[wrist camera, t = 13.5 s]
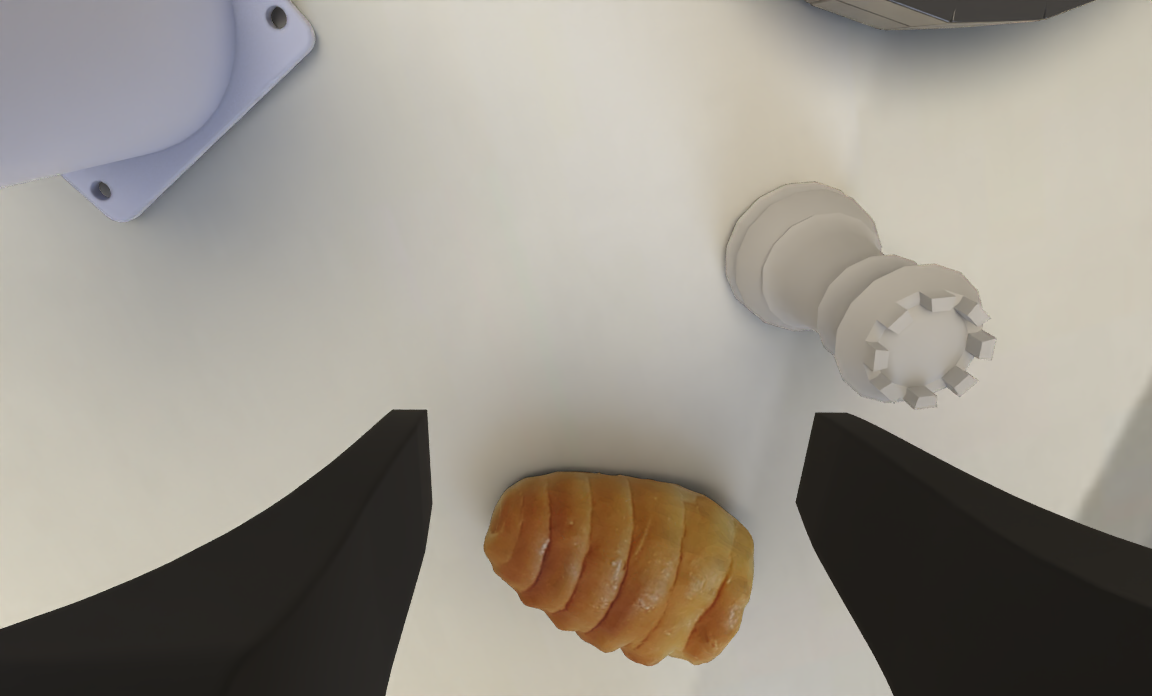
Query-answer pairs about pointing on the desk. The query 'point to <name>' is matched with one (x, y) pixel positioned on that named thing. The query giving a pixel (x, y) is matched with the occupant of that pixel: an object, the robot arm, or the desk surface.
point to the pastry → (625, 562)
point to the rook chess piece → (857, 295)
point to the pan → (945, 12)
